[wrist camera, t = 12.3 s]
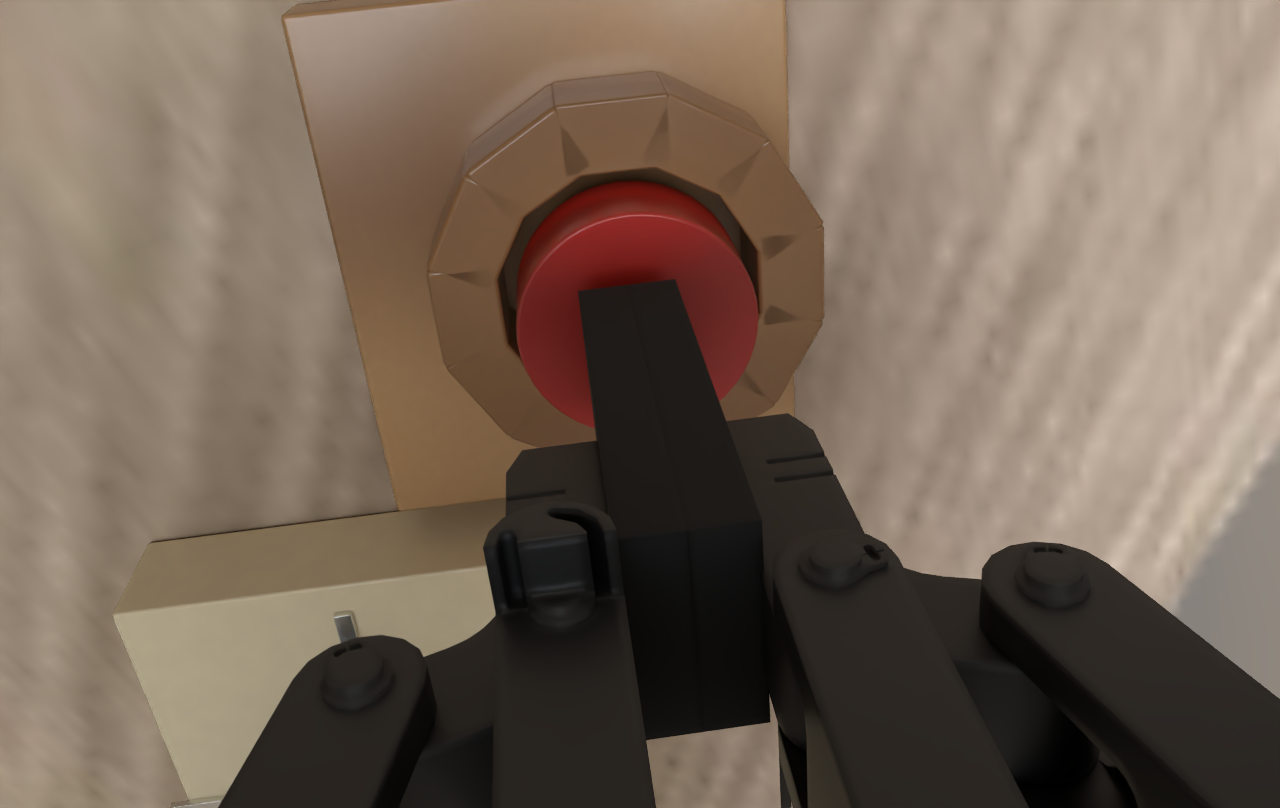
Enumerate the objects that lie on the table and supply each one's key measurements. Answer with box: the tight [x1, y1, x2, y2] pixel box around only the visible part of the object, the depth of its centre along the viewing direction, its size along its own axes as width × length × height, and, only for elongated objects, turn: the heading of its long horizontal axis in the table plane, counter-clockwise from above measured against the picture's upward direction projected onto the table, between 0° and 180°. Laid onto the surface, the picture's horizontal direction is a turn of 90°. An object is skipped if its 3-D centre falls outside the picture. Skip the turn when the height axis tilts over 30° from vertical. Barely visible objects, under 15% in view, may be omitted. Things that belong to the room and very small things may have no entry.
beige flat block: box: [113, 498, 506, 808], centre depth 25 cm, size 11×10×3 cm
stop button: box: [516, 181, 758, 428], centre depth 18 cm, size 4×4×2 cm
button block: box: [281, 0, 824, 511], centre depth 20 cm, size 10×9×3 cm
